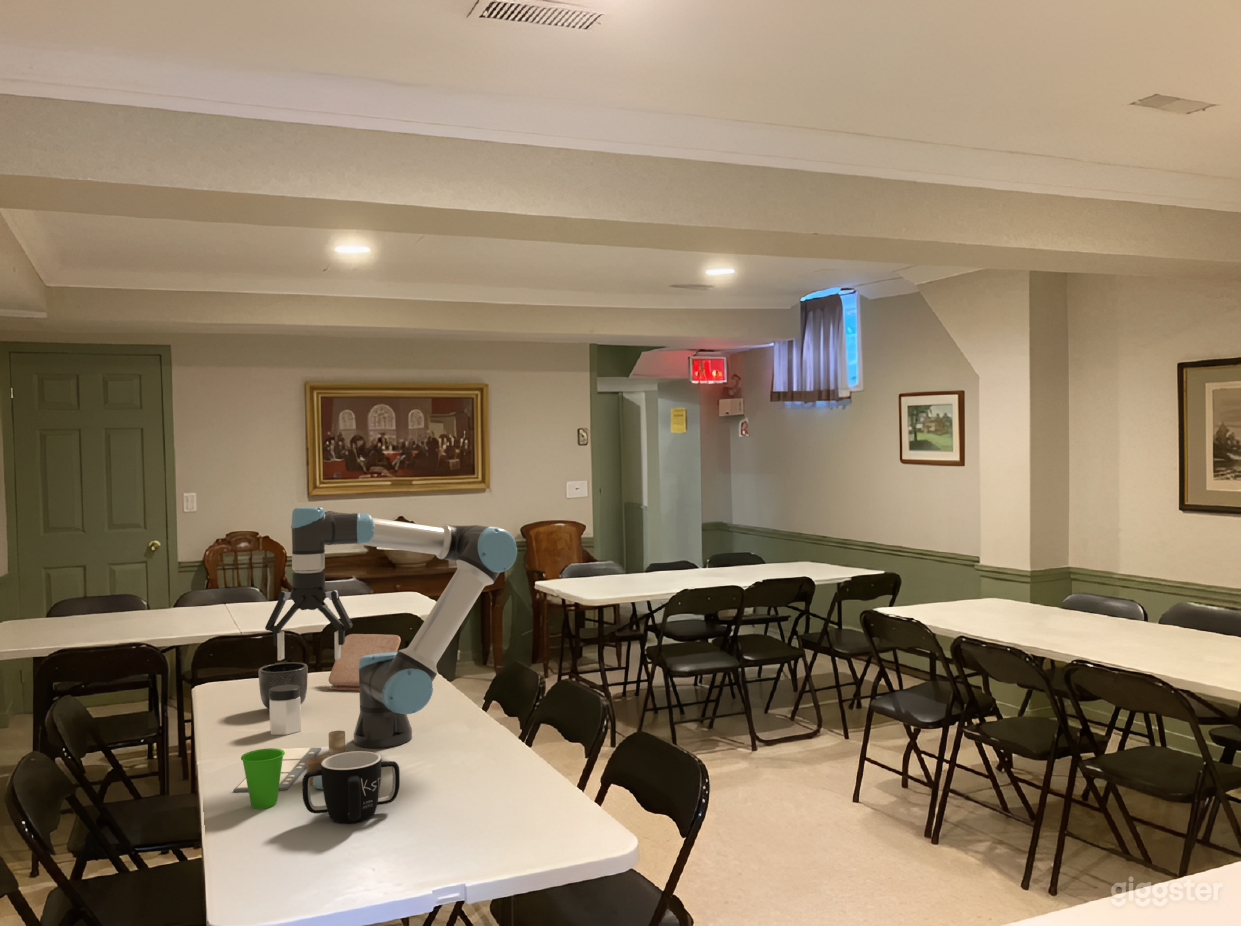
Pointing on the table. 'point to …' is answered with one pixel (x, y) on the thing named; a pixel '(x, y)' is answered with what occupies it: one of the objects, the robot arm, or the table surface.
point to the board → (288, 767)
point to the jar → (285, 709)
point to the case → (358, 657)
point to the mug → (351, 786)
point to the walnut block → (314, 764)
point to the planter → (282, 679)
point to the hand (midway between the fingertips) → (309, 659)
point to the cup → (263, 776)
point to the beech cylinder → (336, 742)
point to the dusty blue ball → (317, 782)
